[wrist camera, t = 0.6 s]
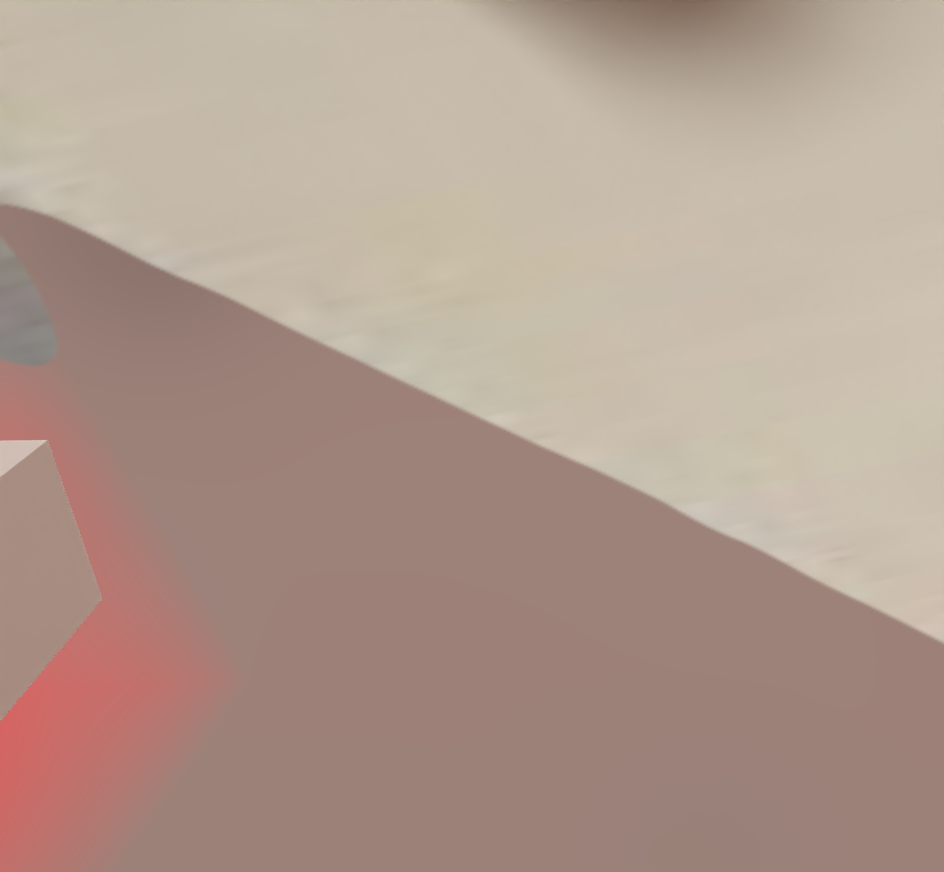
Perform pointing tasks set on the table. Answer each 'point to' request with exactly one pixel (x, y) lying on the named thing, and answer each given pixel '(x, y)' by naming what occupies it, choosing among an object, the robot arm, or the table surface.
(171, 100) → the table surface
